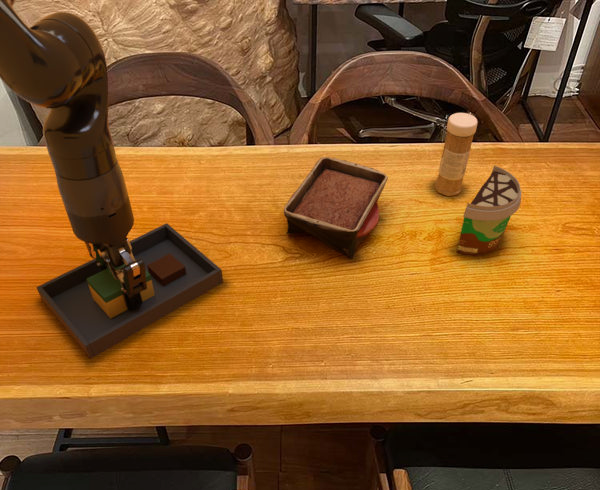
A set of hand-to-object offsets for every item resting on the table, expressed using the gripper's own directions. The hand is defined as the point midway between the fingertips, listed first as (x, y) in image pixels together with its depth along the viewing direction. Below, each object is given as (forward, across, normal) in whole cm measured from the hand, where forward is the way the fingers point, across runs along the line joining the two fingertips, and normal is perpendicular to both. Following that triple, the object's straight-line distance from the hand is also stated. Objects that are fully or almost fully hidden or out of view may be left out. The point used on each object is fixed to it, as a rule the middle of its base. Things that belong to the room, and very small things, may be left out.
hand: (124, 295), depth 83 cm
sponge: (0, 0, 0) cm, 0 cm away
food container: (+1, +26, +49) cm, 55 cm away
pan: (+1, 0, +2) cm, 2 cm away
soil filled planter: (+1, +8, +34) cm, 34 cm away
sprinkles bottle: (+1, +13, +56) cm, 57 cm away
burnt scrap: (0, 0, +7) cm, 7 cm away
